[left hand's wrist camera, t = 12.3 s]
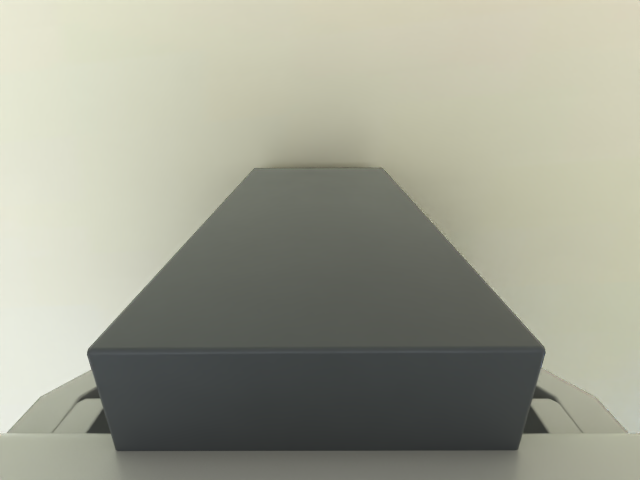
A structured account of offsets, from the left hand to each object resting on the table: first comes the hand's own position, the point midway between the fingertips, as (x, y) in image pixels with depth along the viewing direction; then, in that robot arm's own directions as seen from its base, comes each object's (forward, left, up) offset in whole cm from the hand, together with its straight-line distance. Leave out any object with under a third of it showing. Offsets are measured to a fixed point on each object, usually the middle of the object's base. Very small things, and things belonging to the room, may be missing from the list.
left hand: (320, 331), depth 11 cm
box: (+9, +6, -7) cm, 13 cm away
